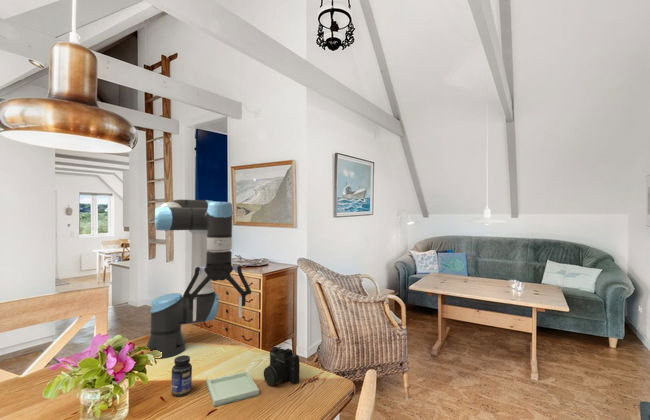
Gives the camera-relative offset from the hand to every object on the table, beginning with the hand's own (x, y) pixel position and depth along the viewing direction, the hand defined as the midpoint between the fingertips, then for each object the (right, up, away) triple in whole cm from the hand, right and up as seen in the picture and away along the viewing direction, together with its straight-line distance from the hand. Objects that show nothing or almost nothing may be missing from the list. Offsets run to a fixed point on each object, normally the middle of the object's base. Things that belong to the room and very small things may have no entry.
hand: (217, 318), depth 101 cm
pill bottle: (-14, -26, +5) cm, 30 cm away
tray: (+3, -26, +6) cm, 27 cm away
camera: (+17, -27, +13) cm, 34 cm away
